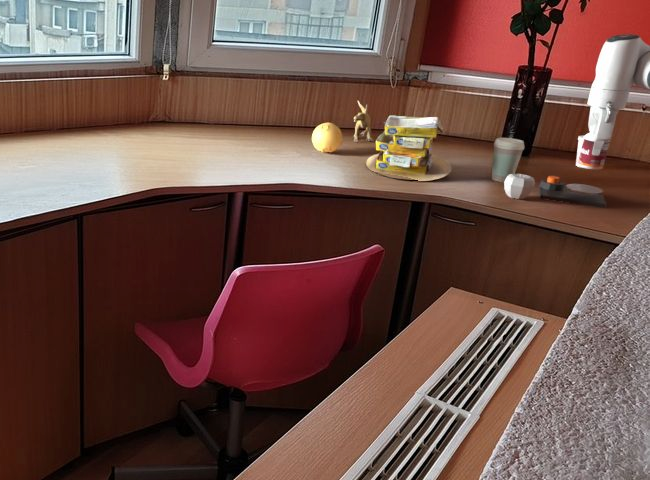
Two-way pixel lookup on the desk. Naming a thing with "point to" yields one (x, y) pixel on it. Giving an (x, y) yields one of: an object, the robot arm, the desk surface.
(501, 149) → the coffee cup
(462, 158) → the desk surface
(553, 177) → the tare button
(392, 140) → the stacked yellow boxes
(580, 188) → the scale pan
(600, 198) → the scale
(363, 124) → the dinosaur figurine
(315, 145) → the stress ball
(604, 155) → the pill bottle
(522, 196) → the white faceted lump
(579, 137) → the smoothie
